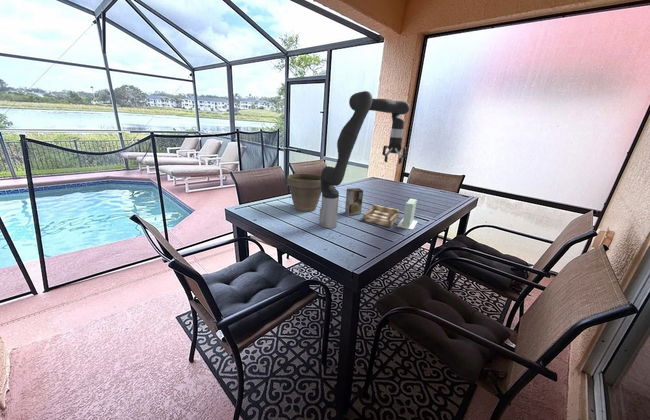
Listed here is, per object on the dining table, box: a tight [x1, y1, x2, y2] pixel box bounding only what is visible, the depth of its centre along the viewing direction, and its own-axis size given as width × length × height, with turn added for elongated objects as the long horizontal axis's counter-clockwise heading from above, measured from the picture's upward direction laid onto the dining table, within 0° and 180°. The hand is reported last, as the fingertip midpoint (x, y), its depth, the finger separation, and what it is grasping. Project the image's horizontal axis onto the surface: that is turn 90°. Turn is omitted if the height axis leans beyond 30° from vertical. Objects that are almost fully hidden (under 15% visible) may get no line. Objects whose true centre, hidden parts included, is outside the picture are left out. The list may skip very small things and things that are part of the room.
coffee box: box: [344, 187, 364, 216], centre depth 162 cm, size 9×6×16 cm
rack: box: [362, 203, 400, 228], centre depth 156 cm, size 17×17×6 cm
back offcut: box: [373, 210, 390, 221], centre depth 155 cm, size 9×3×5 cm, turn 57°
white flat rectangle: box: [396, 218, 418, 231], centre depth 152 cm, size 9×16×1 cm, turn 151°
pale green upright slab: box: [402, 198, 418, 227], centre depth 149 cm, size 12×4×14 cm, turn 151°
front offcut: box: [371, 214, 389, 220], centre depth 152 cm, size 9×3×4 cm, turn 55°
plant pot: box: [286, 172, 322, 212], centre depth 166 cm, size 25×25×22 cm
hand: (392, 163), depth 160 cm, fingers open, 8 cm apart
